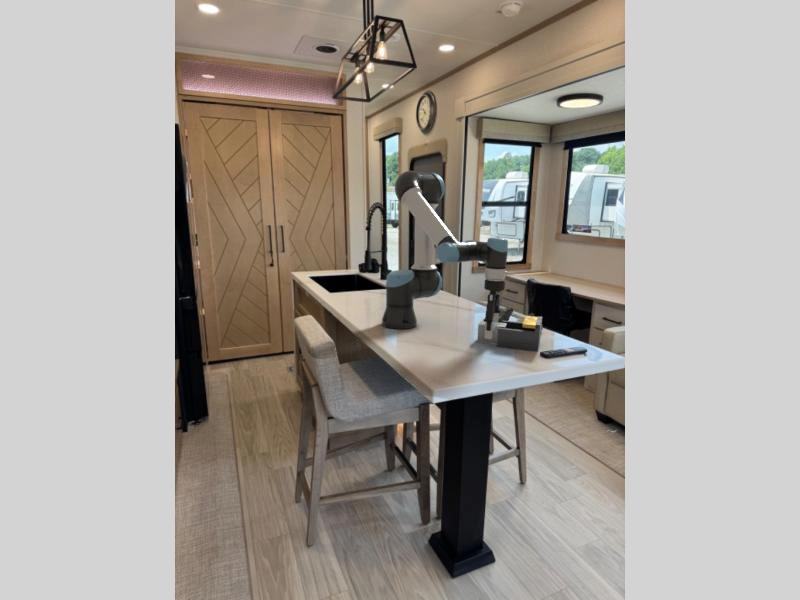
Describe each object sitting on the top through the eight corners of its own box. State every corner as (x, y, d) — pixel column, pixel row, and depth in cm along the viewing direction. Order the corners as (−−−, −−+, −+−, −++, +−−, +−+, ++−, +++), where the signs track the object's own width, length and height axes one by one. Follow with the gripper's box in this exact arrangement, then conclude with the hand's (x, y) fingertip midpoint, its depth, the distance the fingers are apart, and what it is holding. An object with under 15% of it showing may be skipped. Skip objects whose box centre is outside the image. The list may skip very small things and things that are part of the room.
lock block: (477, 342, 168) (478, 324, 167) (479, 337, 174) (480, 320, 172) (503, 345, 165) (505, 327, 164) (505, 340, 171) (506, 323, 169)
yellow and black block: (541, 337, 177) (548, 317, 181) (516, 326, 178) (523, 306, 182) (533, 346, 186) (539, 326, 190) (509, 335, 187) (515, 316, 191)
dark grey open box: (496, 346, 162) (498, 320, 160) (501, 337, 174) (503, 312, 172) (537, 351, 157) (540, 325, 155) (540, 341, 169) (542, 316, 167)
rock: (495, 324, 191) (507, 304, 190) (476, 313, 201) (487, 294, 200) (511, 334, 199) (523, 315, 198) (492, 323, 209) (503, 305, 208)
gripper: (500, 285, 152) (496, 344, 156) (509, 275, 175) (505, 326, 179) (478, 283, 154) (475, 341, 159) (490, 273, 177) (486, 324, 182)
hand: (491, 333), depth 169 cm, fingers open, 13 cm apart
